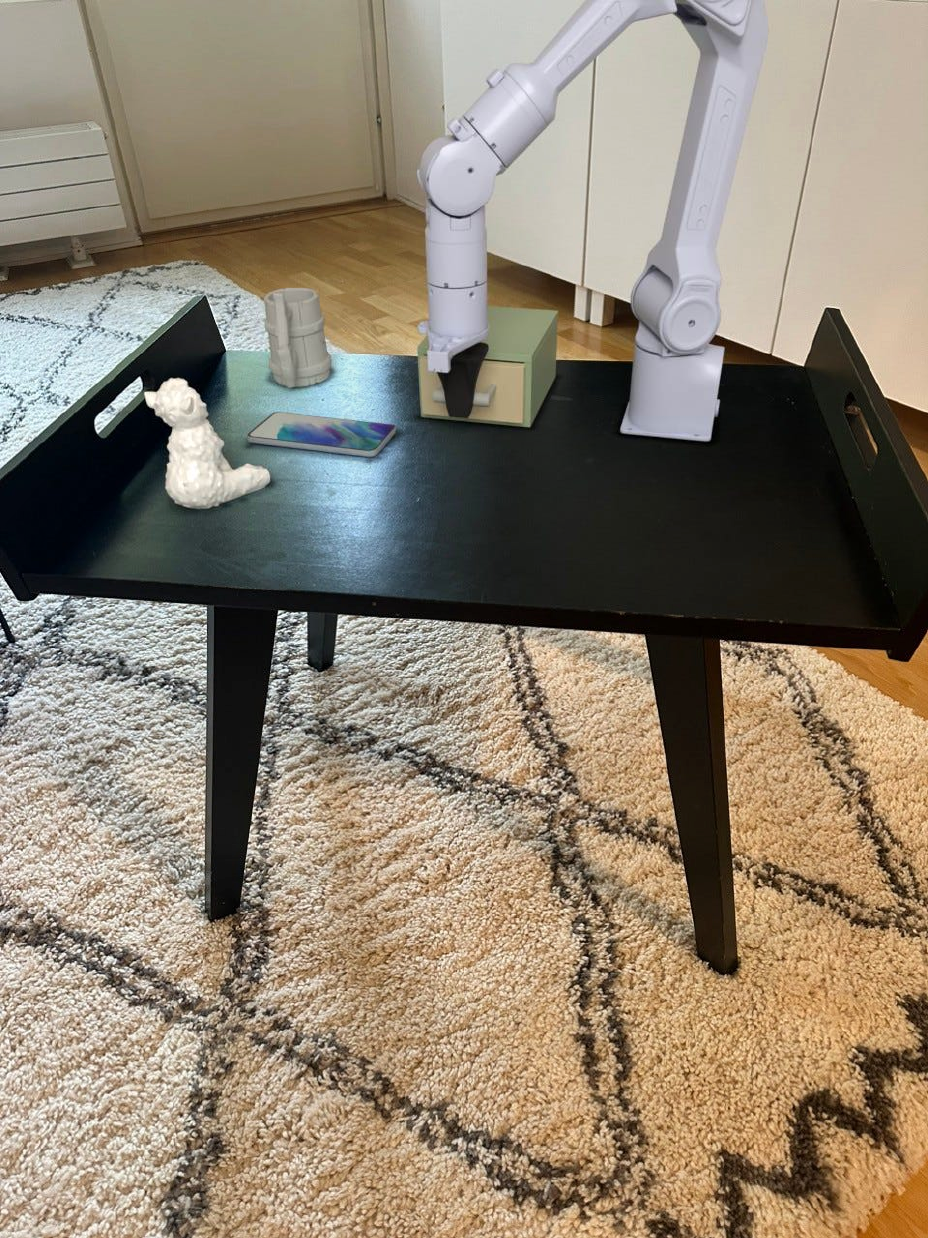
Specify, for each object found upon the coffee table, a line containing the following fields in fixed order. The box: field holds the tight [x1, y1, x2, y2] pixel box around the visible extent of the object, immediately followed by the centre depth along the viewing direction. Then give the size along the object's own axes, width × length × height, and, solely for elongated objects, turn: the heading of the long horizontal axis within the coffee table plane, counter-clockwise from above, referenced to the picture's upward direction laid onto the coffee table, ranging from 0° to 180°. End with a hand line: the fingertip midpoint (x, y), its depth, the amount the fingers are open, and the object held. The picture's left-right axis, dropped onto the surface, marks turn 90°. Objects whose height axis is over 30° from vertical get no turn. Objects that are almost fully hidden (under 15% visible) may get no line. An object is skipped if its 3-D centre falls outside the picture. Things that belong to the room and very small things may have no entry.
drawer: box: [420, 356, 526, 424], centre depth 100 cm, size 18×11×6 cm, turn 164°
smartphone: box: [246, 411, 397, 458], centre depth 97 cm, size 7×1×15 cm
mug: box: [263, 287, 333, 388], centre depth 106 cm, size 8×12×12 cm, turn 178°
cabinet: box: [416, 305, 559, 428], centre depth 102 cm, size 15×13×8 cm
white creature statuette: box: [143, 377, 271, 510], centre depth 84 cm, size 10×9×12 cm
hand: (460, 414), depth 93 cm, fingers closed, pressing on drawer
